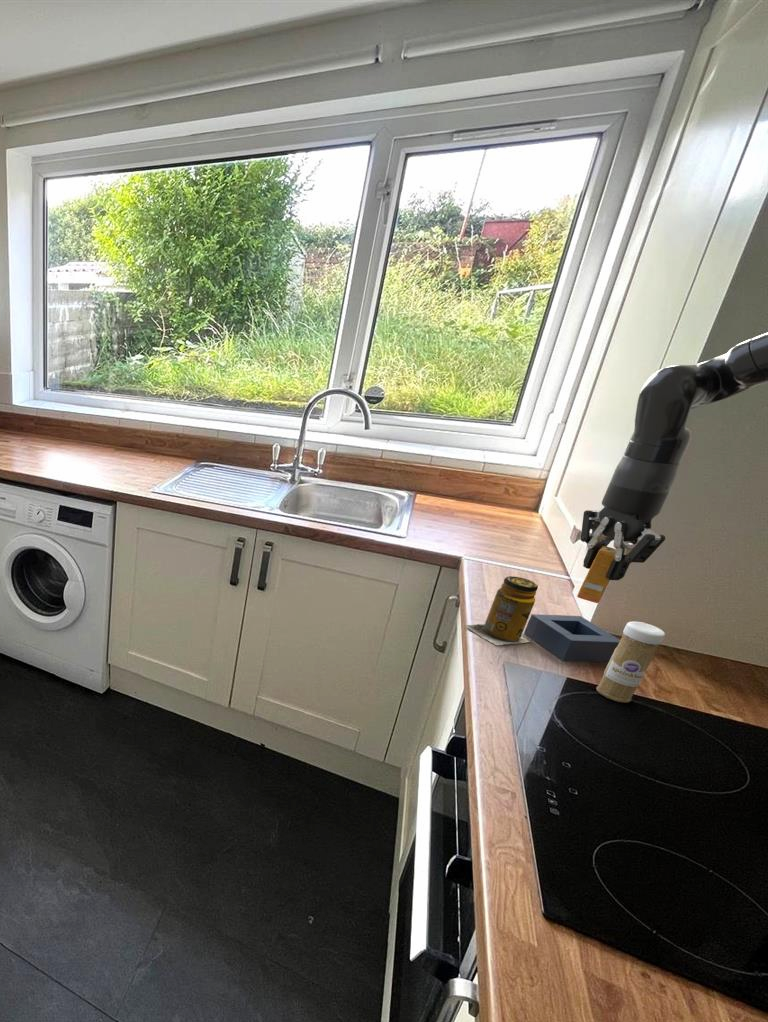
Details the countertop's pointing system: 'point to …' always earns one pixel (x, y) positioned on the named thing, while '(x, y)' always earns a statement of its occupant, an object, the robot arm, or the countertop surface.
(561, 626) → the socket block
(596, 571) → the supplement box
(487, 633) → the condiment
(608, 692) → the sprinkles bottle
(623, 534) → the robot arm
